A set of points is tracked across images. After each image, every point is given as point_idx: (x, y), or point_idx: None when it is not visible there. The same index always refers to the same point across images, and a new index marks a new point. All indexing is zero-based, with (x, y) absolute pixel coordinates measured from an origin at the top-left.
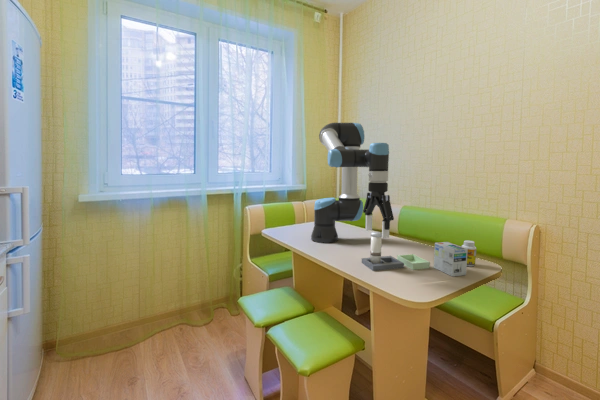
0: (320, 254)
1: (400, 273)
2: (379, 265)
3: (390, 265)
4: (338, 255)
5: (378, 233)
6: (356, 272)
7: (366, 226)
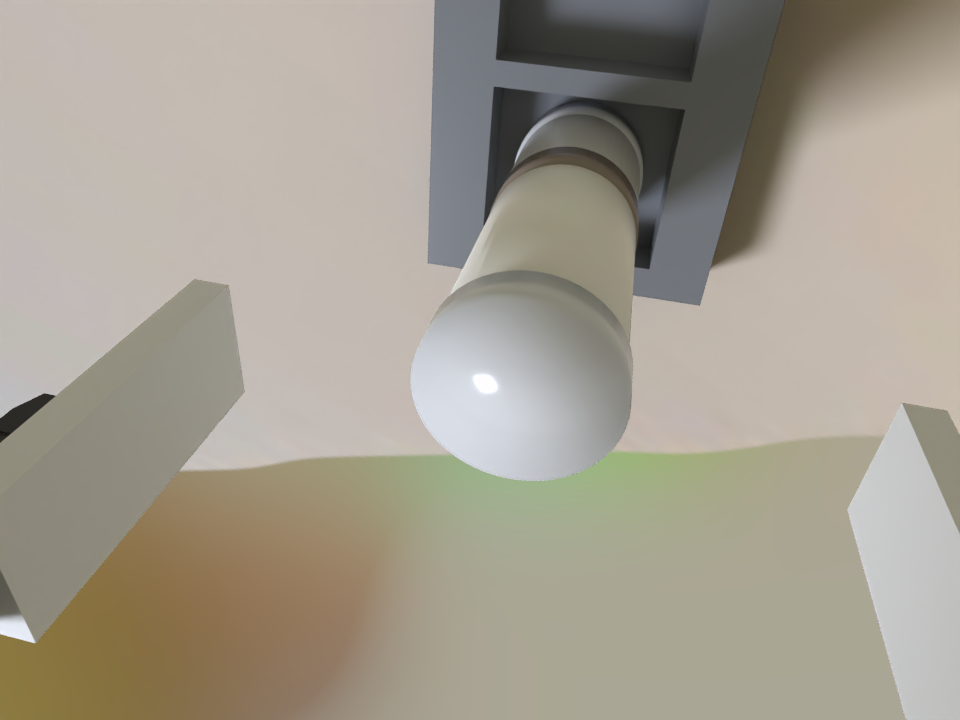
0: None
1: (913, 4)
2: (717, 231)
3: (762, 74)
4: (163, 297)
5: (572, 392)
6: None
7: (200, 439)
